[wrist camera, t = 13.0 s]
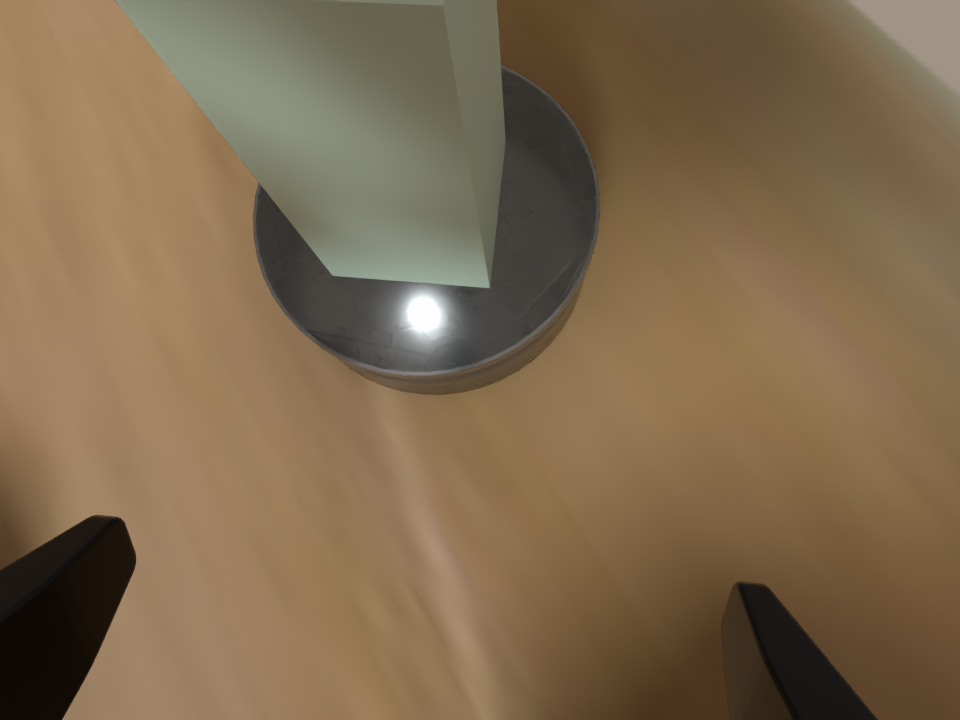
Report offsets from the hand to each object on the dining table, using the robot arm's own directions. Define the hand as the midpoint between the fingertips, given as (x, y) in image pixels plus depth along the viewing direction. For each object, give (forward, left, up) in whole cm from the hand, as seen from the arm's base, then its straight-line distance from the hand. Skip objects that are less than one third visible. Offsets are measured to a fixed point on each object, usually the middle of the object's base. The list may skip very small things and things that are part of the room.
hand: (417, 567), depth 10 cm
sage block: (+10, +1, -10) cm, 14 cm away
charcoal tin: (+11, +1, -14) cm, 17 cm away
